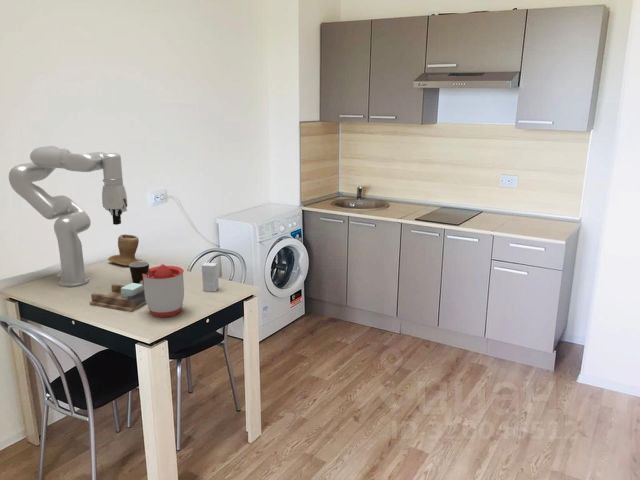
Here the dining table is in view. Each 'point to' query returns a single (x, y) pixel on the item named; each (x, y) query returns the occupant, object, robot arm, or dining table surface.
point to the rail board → (119, 299)
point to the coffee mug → (138, 270)
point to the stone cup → (126, 250)
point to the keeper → (130, 289)
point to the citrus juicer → (164, 290)
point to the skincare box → (210, 276)
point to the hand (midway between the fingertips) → (117, 223)
